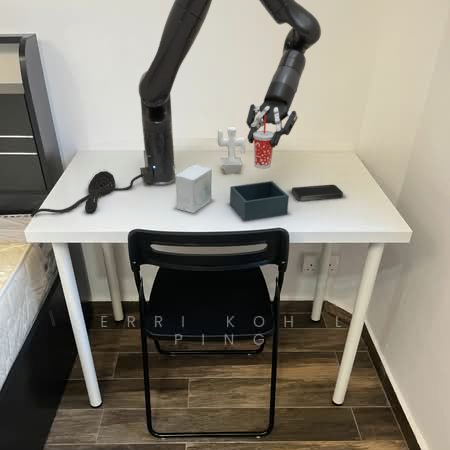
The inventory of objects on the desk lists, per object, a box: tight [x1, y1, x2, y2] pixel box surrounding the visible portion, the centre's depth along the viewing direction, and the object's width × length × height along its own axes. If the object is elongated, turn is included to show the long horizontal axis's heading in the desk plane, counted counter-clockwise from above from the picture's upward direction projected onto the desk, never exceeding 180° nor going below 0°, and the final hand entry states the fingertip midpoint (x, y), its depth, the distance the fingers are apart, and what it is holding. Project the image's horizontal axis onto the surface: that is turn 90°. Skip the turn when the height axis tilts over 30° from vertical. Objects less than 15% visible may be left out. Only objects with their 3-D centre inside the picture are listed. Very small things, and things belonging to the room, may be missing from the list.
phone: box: [291, 184, 344, 202], centre depth 145 cm, size 8×1×15 cm
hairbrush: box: [84, 169, 116, 215], centre depth 142 cm, size 8×4×25 cm
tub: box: [229, 180, 290, 222], centre depth 135 cm, size 14×12×6 cm
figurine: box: [217, 125, 246, 175], centre depth 156 cm, size 7×9×15 cm
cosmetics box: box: [175, 164, 213, 214], centre depth 136 cm, size 10×6×10 cm, turn 151°
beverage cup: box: [253, 115, 274, 170], centre depth 127 cm, size 6×6×14 cm
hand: (261, 143), depth 125 cm, fingers closed on beverage cup, 6 cm apart
